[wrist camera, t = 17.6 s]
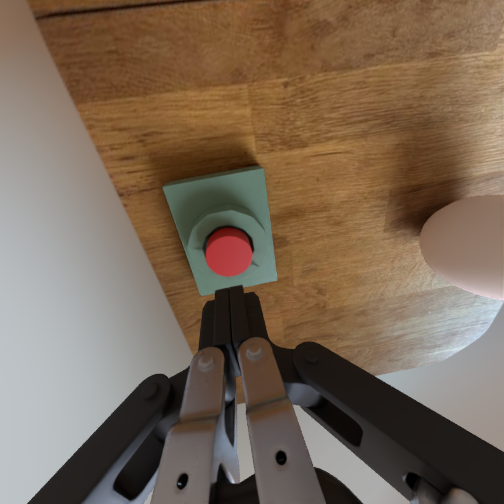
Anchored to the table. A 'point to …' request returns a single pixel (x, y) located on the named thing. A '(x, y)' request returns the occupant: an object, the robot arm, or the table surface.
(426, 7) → the table surface
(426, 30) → the table surface
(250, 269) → the button box
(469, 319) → the table surface
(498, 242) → the egg
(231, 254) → the button
